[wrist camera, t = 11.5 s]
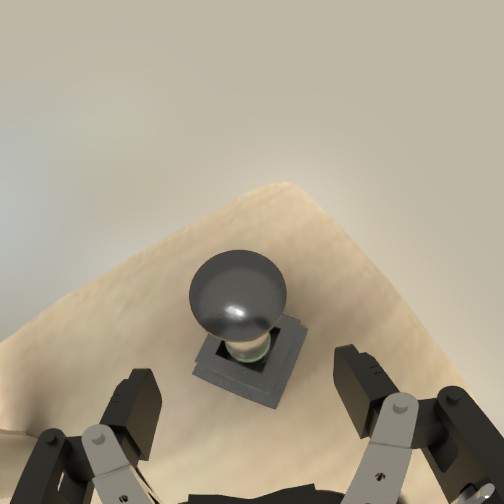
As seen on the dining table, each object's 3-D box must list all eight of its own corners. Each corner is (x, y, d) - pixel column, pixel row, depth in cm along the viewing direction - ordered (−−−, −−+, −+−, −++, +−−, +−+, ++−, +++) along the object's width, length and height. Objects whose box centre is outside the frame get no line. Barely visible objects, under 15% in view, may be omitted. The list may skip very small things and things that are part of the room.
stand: (194, 374, 29) (176, 367, 23) (229, 302, 34) (222, 277, 28) (275, 409, 27) (278, 411, 21) (306, 331, 31) (317, 312, 25)
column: (214, 357, 25) (172, 315, 13) (235, 312, 27) (215, 238, 16) (263, 377, 24) (264, 355, 12) (283, 330, 26) (299, 268, 15)
